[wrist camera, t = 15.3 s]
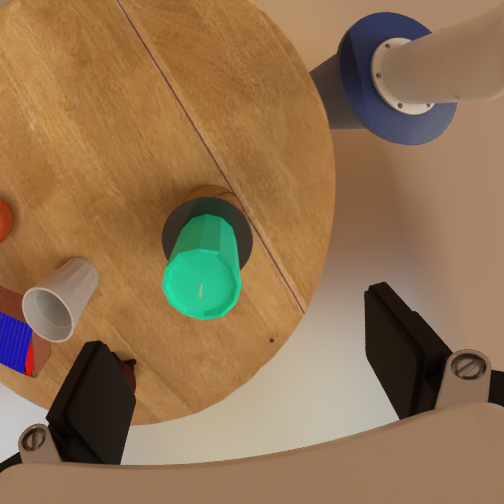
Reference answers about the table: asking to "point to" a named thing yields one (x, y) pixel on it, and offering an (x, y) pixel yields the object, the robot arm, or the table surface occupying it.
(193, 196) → the jar
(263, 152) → the table surface
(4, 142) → the table surface
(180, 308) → the candle
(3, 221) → the tomato
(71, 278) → the cup
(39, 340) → the house
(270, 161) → the table surface
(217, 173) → the table surface
